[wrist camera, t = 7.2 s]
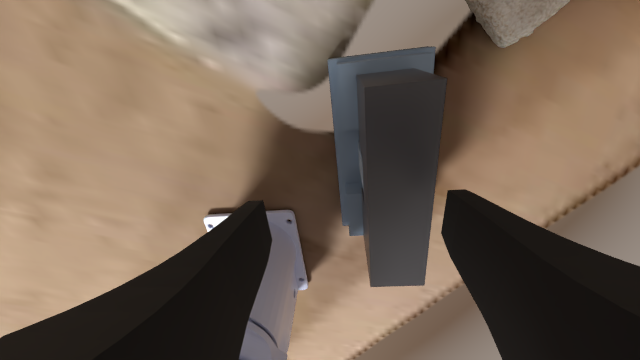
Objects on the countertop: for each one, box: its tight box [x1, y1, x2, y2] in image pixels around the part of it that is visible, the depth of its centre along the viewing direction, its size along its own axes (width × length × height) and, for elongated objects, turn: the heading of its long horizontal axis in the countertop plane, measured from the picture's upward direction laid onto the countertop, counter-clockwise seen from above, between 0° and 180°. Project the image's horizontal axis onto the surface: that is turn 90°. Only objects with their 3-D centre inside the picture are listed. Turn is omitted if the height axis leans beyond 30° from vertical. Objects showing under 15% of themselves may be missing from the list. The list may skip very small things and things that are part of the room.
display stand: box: [328, 47, 436, 236], centre depth 16 cm, size 12×6×5 cm, turn 7°
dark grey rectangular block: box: [356, 68, 447, 287], centre depth 14 cm, size 11×3×4 cm, turn 7°
